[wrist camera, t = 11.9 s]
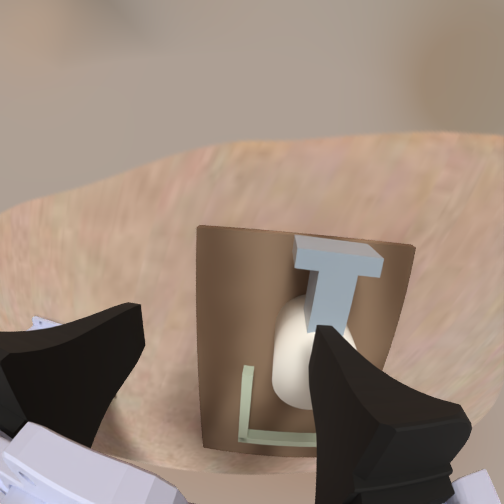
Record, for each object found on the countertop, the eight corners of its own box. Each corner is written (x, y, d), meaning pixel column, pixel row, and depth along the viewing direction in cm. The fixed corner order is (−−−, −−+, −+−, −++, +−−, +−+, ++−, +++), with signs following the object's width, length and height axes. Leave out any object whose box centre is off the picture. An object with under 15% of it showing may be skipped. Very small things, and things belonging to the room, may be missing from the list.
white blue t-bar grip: (335, 356, 21) (348, 410, 15) (270, 350, 21) (266, 406, 15) (363, 237, 18) (396, 265, 12) (288, 227, 19) (292, 253, 13)
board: (204, 442, 26) (203, 447, 25) (199, 225, 20) (196, 227, 19) (343, 451, 25) (344, 456, 24) (411, 244, 19) (415, 247, 18)
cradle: (239, 432, 24) (237, 441, 23) (244, 365, 22) (242, 374, 21) (337, 437, 23) (339, 446, 22) (363, 371, 21) (366, 380, 20)
